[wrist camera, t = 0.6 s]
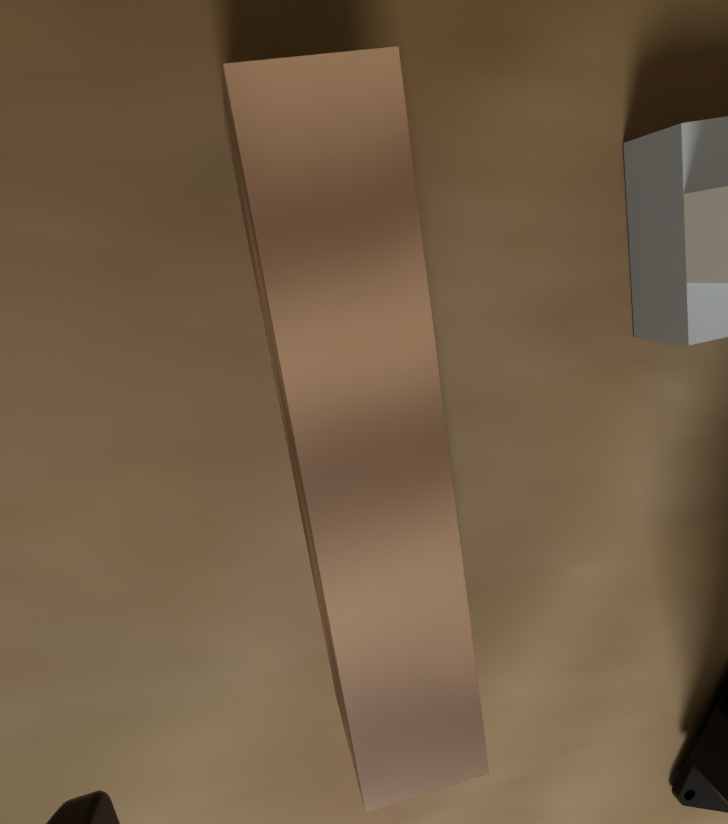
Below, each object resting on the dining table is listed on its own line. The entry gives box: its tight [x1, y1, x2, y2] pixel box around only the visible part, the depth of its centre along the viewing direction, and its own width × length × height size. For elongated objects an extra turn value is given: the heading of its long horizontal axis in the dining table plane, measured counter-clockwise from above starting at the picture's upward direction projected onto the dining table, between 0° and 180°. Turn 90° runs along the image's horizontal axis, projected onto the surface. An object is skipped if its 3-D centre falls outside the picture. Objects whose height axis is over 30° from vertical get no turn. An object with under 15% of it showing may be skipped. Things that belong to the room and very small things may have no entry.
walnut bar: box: [223, 46, 489, 813], centre depth 17 cm, size 18×4×5 cm, turn 9°
